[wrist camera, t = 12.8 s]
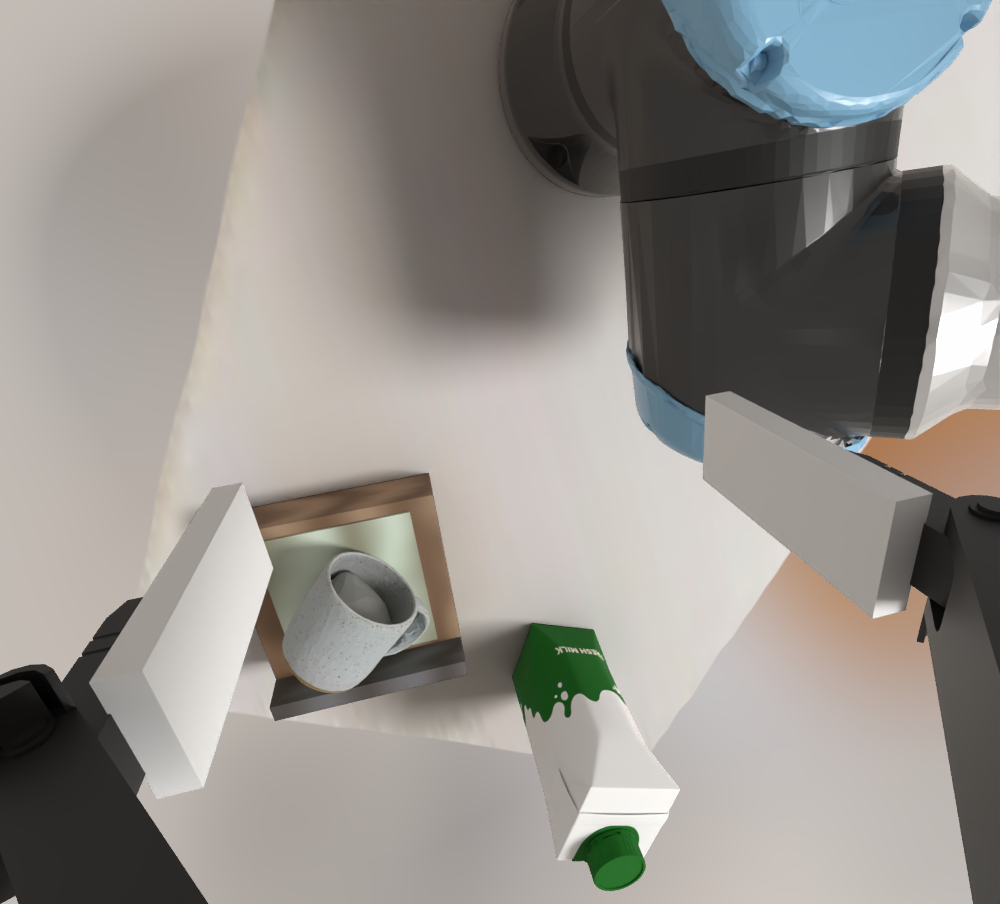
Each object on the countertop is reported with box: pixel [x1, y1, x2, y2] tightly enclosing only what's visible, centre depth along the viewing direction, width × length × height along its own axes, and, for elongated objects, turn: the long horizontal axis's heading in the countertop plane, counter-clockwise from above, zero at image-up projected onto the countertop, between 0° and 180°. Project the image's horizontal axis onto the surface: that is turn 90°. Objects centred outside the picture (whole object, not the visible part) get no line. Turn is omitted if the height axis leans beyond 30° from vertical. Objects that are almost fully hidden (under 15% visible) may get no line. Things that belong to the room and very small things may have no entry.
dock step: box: [252, 473, 467, 721], centre depth 46 cm, size 16×16×7 cm
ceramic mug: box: [282, 552, 430, 693], centre depth 42 cm, size 11×8×8 cm
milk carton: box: [512, 623, 680, 891], centre depth 48 cm, size 9×9×20 cm
